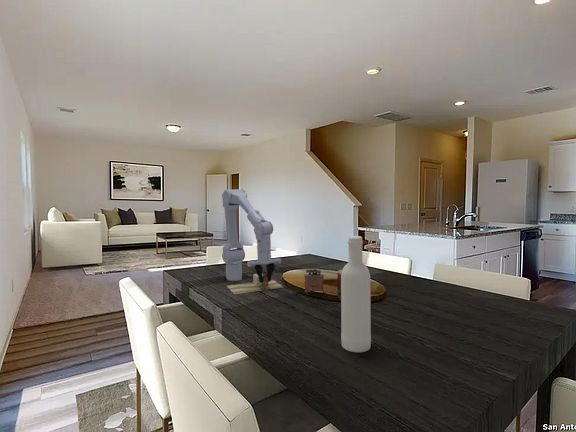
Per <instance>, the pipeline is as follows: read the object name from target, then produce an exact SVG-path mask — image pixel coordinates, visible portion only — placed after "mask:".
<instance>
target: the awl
mask: <svg viewBox="0 0 576 432" xmlns="http://www.w3.org/2000/svg"><path fill="white" fill-rule="evenodd" d="M262 280H263V281H262V286H268V285H269V282H268V276H267V274H266V272H265V271H264V272H263V276H262Z"/></svg>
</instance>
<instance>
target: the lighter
mask: <svg viewBox="0 0 576 432" xmlns="http://www.w3.org/2000/svg"><path fill="white" fill-rule="evenodd" d="M305 273H307V274H304V293H305V294H308V292H310V291H323V290H324V278H325V277H324V274H322V270H321V269H317V268H313V269H312V268H311V269H310V268H306V269H305ZM324 291H325V290H324Z"/></svg>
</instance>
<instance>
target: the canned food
mask: <svg viewBox="0 0 576 432" xmlns="http://www.w3.org/2000/svg"><path fill="white" fill-rule="evenodd" d="M342 270H343V268H342V269H339V270H337V273H336V274H337V275H336V276H337V279H336V280H337V298H338V300H339V301H341V274H342Z"/></svg>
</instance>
